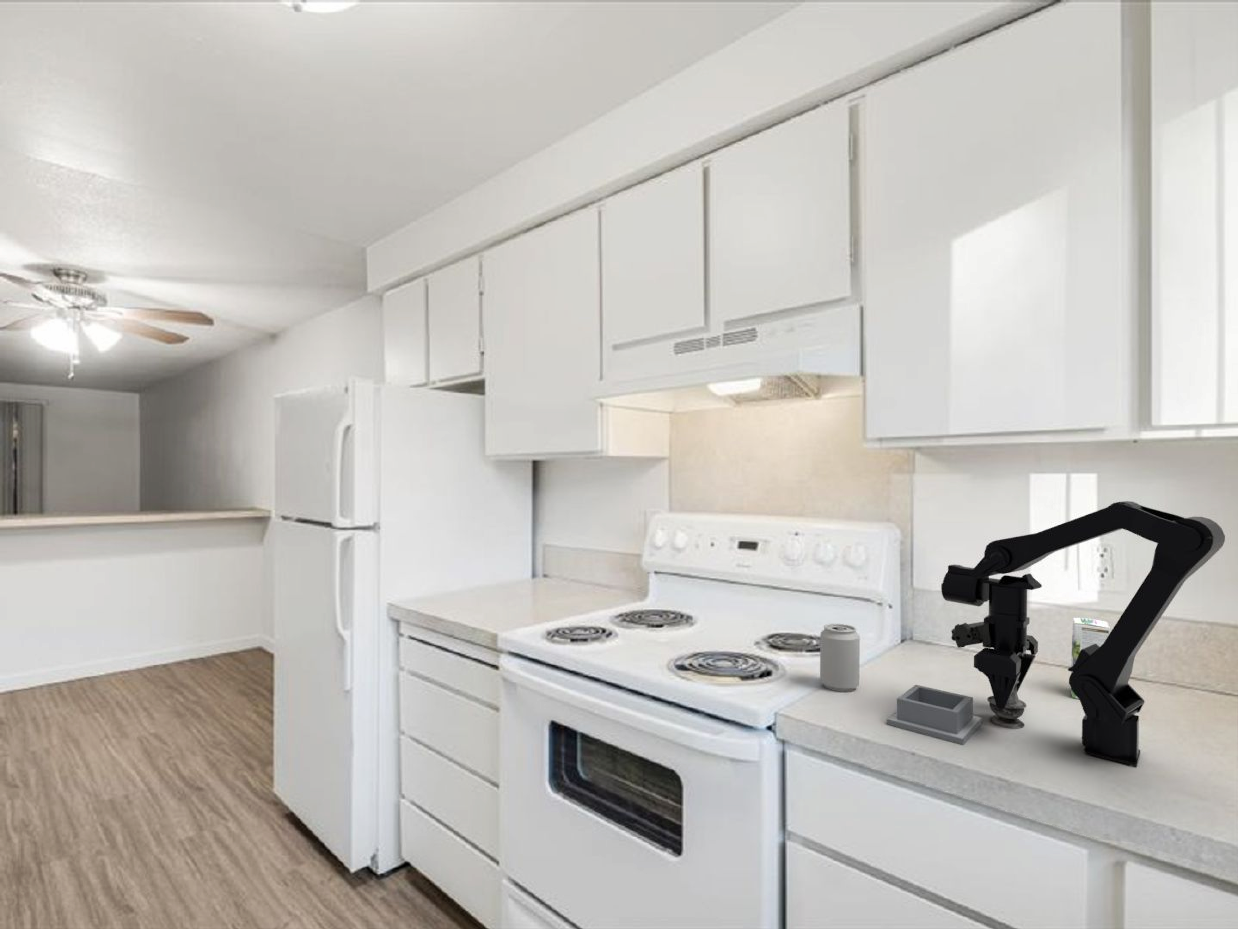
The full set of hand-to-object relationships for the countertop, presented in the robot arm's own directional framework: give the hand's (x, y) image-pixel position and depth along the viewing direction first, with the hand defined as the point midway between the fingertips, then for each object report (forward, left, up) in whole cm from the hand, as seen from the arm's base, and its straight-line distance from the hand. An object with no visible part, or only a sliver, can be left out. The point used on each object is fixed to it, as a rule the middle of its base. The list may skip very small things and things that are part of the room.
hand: (1006, 701), depth 115 cm
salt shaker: (0, 0, -4) cm, 4 cm away
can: (+29, +2, -4) cm, 29 cm away
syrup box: (-9, -25, -4) cm, 27 cm away
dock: (+9, +9, -4) cm, 13 cm away
